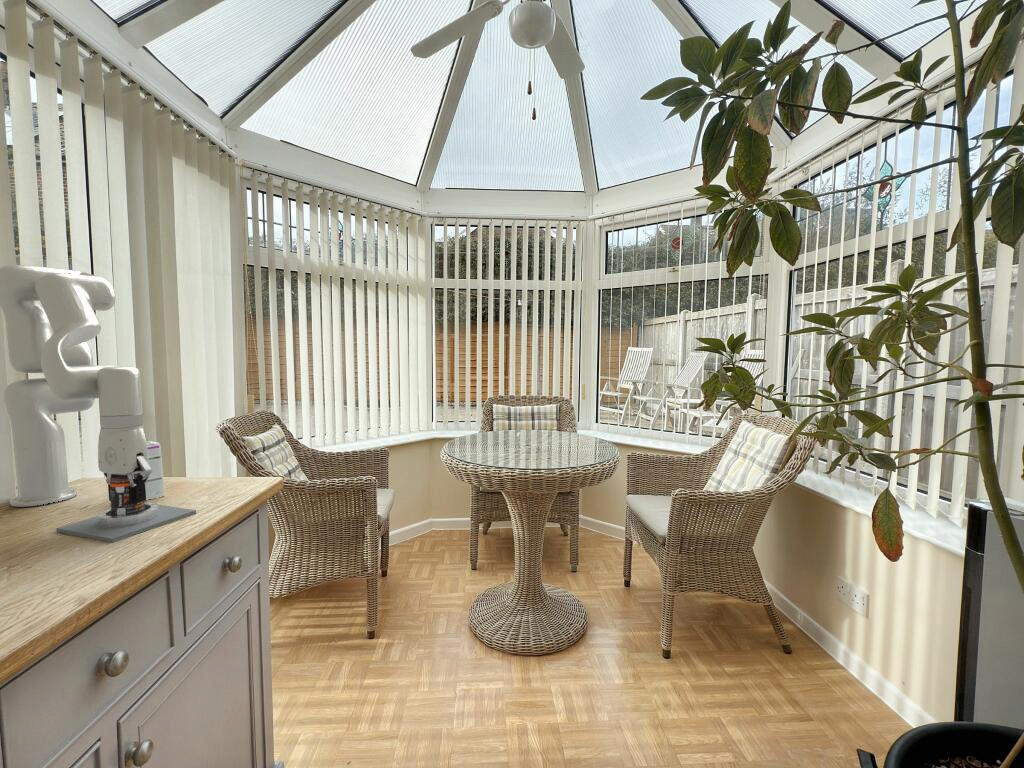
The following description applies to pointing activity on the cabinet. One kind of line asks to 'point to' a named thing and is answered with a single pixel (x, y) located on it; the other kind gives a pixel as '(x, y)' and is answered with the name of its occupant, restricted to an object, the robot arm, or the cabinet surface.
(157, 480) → the syrup box
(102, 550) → the cabinet surface
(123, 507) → the supplement bottle
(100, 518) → the ring collar
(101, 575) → the cabinet surface
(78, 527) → the rubber mat
